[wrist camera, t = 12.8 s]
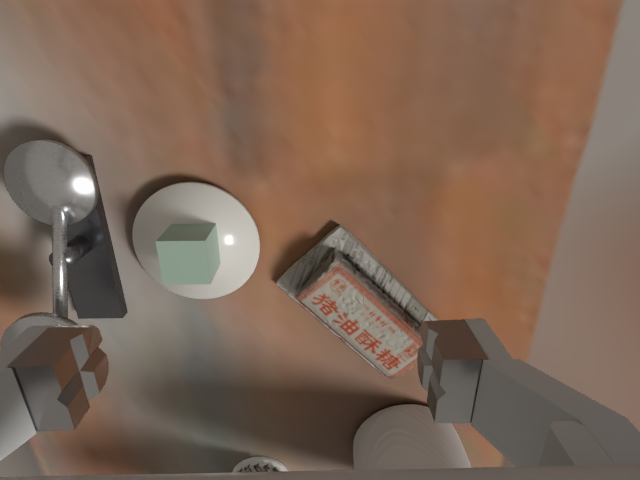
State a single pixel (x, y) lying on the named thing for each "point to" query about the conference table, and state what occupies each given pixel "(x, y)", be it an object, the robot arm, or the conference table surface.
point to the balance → (66, 232)
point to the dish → (199, 208)
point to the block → (188, 254)
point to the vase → (407, 441)
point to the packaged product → (359, 301)
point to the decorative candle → (259, 465)
